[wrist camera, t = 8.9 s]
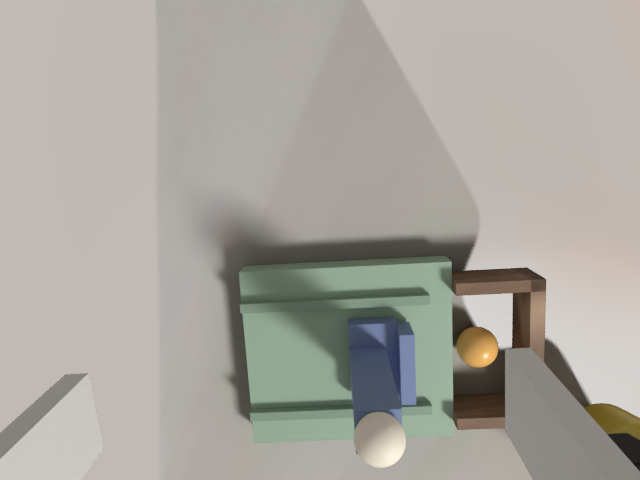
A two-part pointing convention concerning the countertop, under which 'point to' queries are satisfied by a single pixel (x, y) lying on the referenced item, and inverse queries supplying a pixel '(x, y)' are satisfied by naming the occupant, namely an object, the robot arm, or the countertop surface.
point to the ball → (477, 347)
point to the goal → (525, 335)
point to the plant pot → (614, 419)
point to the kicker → (381, 386)
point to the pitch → (341, 342)
